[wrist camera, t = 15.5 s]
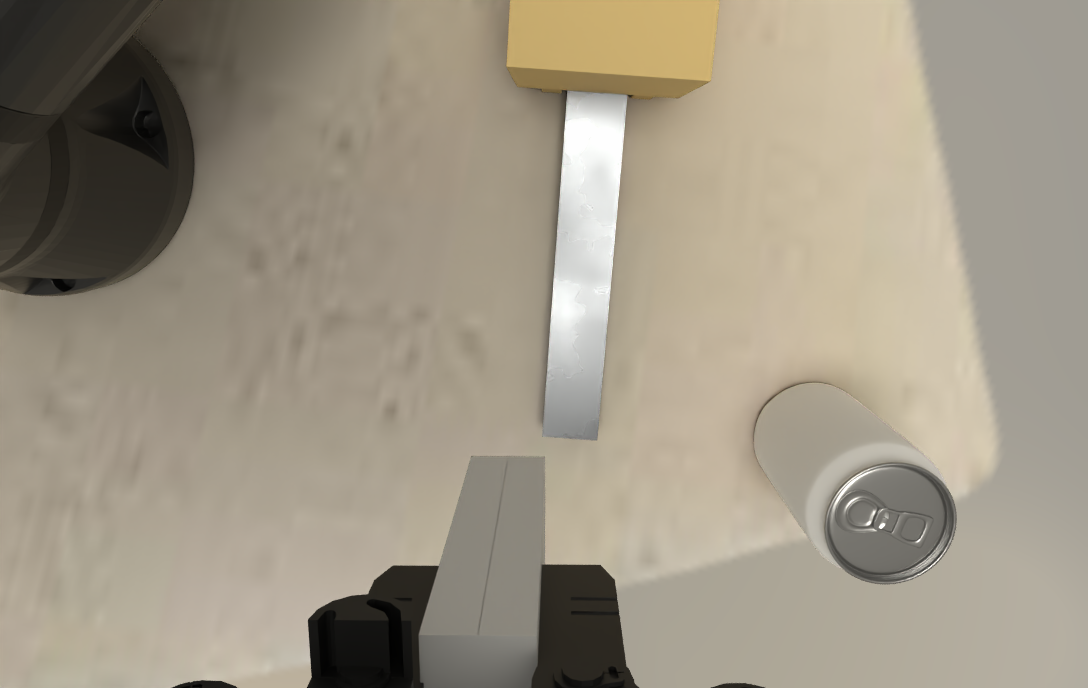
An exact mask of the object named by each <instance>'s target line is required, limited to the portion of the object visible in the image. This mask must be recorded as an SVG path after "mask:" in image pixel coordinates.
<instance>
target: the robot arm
mask: <svg viewBox="0 0 1088 688" xmlns="http://www.w3.org/2000/svg"><path fill="white" fill-rule="evenodd" d="M161 1H162V0H0V289H2V290H6V291H10V292H14V293H19V294H25V295H34V296H63V295H71V294H77V293H82V292H85V291H89V290H93V289H97V288H100V287H104V286H107V285H111V284H113V283H116V282H119V281H121V280H123V279H125V278H127V277H129V276H131V275H133V274H135V273H136V272H138V271H139V270H141V269H142V268H144V267H145V266H146V265H147V264H149V263H150V262H151V261H152V260H153V259H154V258H155V257H156V256H158V255H159V254H160V252H161V251H162V250H163V249H164V248H165V247H166V245H167V244H168V243H169V241H170V240H171V239H172V237H173V235H174V234H175V232H176V231H177V229H178V227H179V225H180V223H181V221H182V219H183V216H184V214H185V211H186V208H187V205H188V202H189V198H190V194H191V188H192V183H193V172H194V158H193V146H192V138H191V133H190V128H189V125H188V121H187V117H186V115H185V112H184V109H183V106H182V104H181V101H180V99H179V97H178V95H177V93H176V91H175V89H174V87H173V85H172V83H171V82H170V80H169V78H168V77H167V75H166V74H165V72H164V71H163V70H162V68H161V67H160V65H159V64H158V63H157V62H156V60H155V59H154V58H153V57H152V56H151V55H150V53H149V52H148V51H147V50H146V49H145V48H144V47H143V46H142V45H141V44H140V43H139V42H138V41H137V40H135V39H134V38H133V37H132V35H133V34H134V33H135V31H136V30H137V29H138V28H139V27H140V26H141V24H142V23H143V22H144V21H145V20H146V19H147V18H148V16H149V15H150V14H151V13H152V12H153V11H154V10H155V8H156V7H157V6H158V5H159V4H160V3H161ZM308 628H309V643H310V658H311V673H312V678H311V680H310V682H309V684H308V687H307V688H639V687H638V686H636V684H635V683H634V679H633V677H632V675H631V673H630V670H629V669H628V668H627V667H626V660H625V653H624V645H623V638H622V630H621V623H620V616H619V609H618V602H617V593H616V586H615V580H614V579H613V578H612V577H611V576H610V575H609V574H608V572H607V571H606V570H605V569H604V568H603V567H602V566H601V565H545V457H515V456H471V460H470V463H469V467H468V470H467V473H466V477H465V480H464V483H463V487H462V490H461V494H460V497H459V500H458V504H457V507H456V510H455V514H454V517H453V521H452V524H451V527H450V531H449V534H448V537H447V541H446V544H445V547H444V551H443V554H442V558H441V561H440V564H439V566H392V567H391V568H389V569H388V570H387V571H385V572H384V573H383V574H382V575H380V576H379V577H378V578H377V579H375V580H374V582H373V584H372V587H371V589H370V591H369V593H368V594H366V595H355V596H349V597H346V598H342V599H339V600H335V601H332V602H330V603H328V604H327V605H325V606H323V607H321V608H319V609H318V610H317V611H316V612H315V613H314V614H313V615H312V616H311V617H310V618H309V619H308ZM172 688H237V687H236V686H233V685H231V684H228V683H225V682H222V681H204V680H201V681H193V682H191V683H190V682H188V683H184V684H180V685H177V686H175V687H172ZM712 688H764V687H760V686H756V685H752V684H746V683H729V684H722V685H718V686H715V687H712Z"/></svg>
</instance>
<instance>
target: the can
mask: <svg viewBox="0 0 1088 688" xmlns="http://www.w3.org/2000/svg"><path fill="white" fill-rule="evenodd" d="M754 450H755V454H756V457H757V460H758V462H759V464H760V466H761V468H762V469H763V471H764V472H765V474H766V476H767V477H768V479H769V480H770V482H771V483H772V485H773V486H774V488H775V489H776V491H777V492H778V494H779V495H780V497H781V498H782V500H783V501H784V503H785V504H786V506H787V507H788V509H789V510H790V512H791V513H792V515H793V516H794V518H795V519H796V521H797V522H798V524H799V525H800V527H801V528H802V530H803V531H804V533H805V534H806V536H807V537H808V538H809V540H810V541H811V543H812V544H813V545H814V547H815V548H816V549H817V550H818V552H819V553H820V554H821V555H822V556H823V557H824V558H826V559H827V560H828V561H829V562H830V563H832V564H833V565H835V566H837V567H838V568H840V569H843V570H845V571H846V572H847V573H849V574H850V575H852V576H854V577H856V578H858V579H860V580H863V581H866V582H870V583H875V584H896V583H901V582H905V581H908V580H911V579H914V578H916V577H918V576H920V575H922V574H924V573H925V572H927V571H928V570H930V569H931V568H932V567H933V566H935V565H936V564H937V563H938V562H939V561H940V560H941V558H942V557H943V556H944V555H945V553H946V552H947V550H948V548H949V546H950V545H951V542H952V540H953V537H954V533H955V530H956V520H957V518H956V508H955V504H954V501H953V498H952V496H951V494H950V492H949V490H948V489H947V485H946V482H945V480H944V478H943V476H942V474H941V472H940V471H939V469H938V468H937V467H936V466H935V464H934V463H933V462H932V461H931V460H930V459H929V458H928V457H927V456H926V455H925V454H924V453H922V452H921V451H920V450H919V449H918V448H916V447H915V446H914V445H913V444H912V443H910V442H909V441H908V440H907V439H905V438H904V437H903V436H902V435H900V434H899V433H898V432H897V431H895V430H894V429H893V428H892V427H890V426H889V425H888V424H887V423H885V422H884V421H883V420H882V419H880V418H879V417H878V416H877V415H875V414H874V413H873V412H872V411H870V410H869V409H868V408H866V407H865V406H864V405H863V404H861V403H860V402H859V401H857V400H856V399H855V398H854V397H852V396H851V395H849V394H848V393H847V392H845V391H843V390H841V389H840V388H837V387H835V386H832V385H829V384H824V383H804V384H799V385H796V386H793V387H790V388H788V389H786V390H784V391H782V392H781V393H779V394H778V395H776V396H775V397H774V398H773V399H772V400H771V401H770V402H769V403H768V404H767V405H766V406H765V407H764V408H763V410H762V411H761V413H760V415H759V418H758V420H757V423H756V427H755V432H754Z"/></svg>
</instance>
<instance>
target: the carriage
mask: <svg viewBox="0 0 1088 688" xmlns="http://www.w3.org/2000/svg"><path fill="white" fill-rule="evenodd" d="M719 1H720V0H510V13H509V30H508V48H507V65H506V67H507V69H508V70H509V72H510V74H511V76H512V78H513V80H514V82H515V83H516V85H517V87H527V88H541V89H542V92H551V93H561V92H562V90H569V91H583V92H597V93H611V94H625V95H631V98H635V99H649V100H650V99H651V98H653V97H667V98H680V97H682V96H684V95H685V94H687V93H689V92H691V91H693V90H695V89H697V88H699V87H701V86H703V85H704V84H706V83H708V82H710V81H711V75H712V65H713V56H714V47H715V38H716V28H717V19H718V10H719Z"/></svg>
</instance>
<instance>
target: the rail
mask: <svg viewBox="0 0 1088 688" xmlns="http://www.w3.org/2000/svg"><path fill="white" fill-rule="evenodd" d="M626 106H627V95H625V94H611V93H597V92H583V91H569V90H567V102H566V116H565V130H564V143H563V157H562V171H561V184H560V198H559V212H558V226H557V239H556V253H555V267H554V281H553V294H552V308H551V322H550V336H549V349H548V363H547V377H546V390H545V404H544V418H543V434H542V437H556V438H570V439H584V440H597V436H598V425H599V413H600V402H601V390H602V379H603V368H604V356H605V345H606V333H607V322H608V311H609V299H610V288H611V276H612V265H613V254H614V242H615V231H616V220H617V208H618V197H619V185H620V174H621V163H622V151H623V140H624V128H625V117H626Z"/></svg>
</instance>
